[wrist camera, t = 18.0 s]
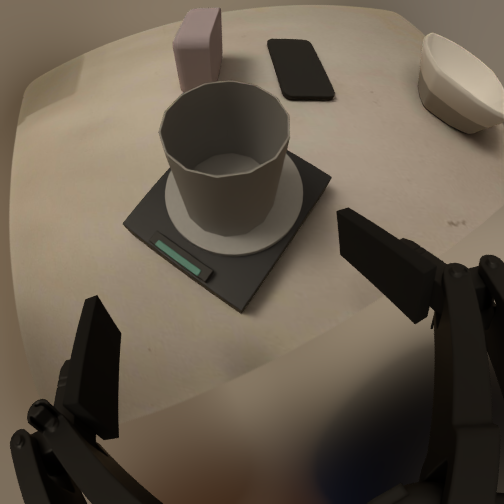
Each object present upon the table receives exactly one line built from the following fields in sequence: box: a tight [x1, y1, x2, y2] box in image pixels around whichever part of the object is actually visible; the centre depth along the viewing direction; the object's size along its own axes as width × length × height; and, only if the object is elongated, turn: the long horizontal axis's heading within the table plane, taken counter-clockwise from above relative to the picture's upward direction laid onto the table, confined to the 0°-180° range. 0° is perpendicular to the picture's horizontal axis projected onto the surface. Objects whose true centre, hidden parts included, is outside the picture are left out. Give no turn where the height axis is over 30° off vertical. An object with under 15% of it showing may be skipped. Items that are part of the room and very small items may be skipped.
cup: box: [158, 80, 290, 237], centre depth 22 cm, size 8×8×10 cm
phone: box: [267, 39, 335, 100], centre depth 37 cm, size 7×1×15 cm
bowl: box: [418, 33, 504, 134], centre depth 34 cm, size 18×18×9 cm
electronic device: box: [173, 8, 222, 93], centre depth 32 cm, size 10×5×10 cm, turn 177°
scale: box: [123, 150, 332, 313], centre depth 29 cm, size 16×14×4 cm
